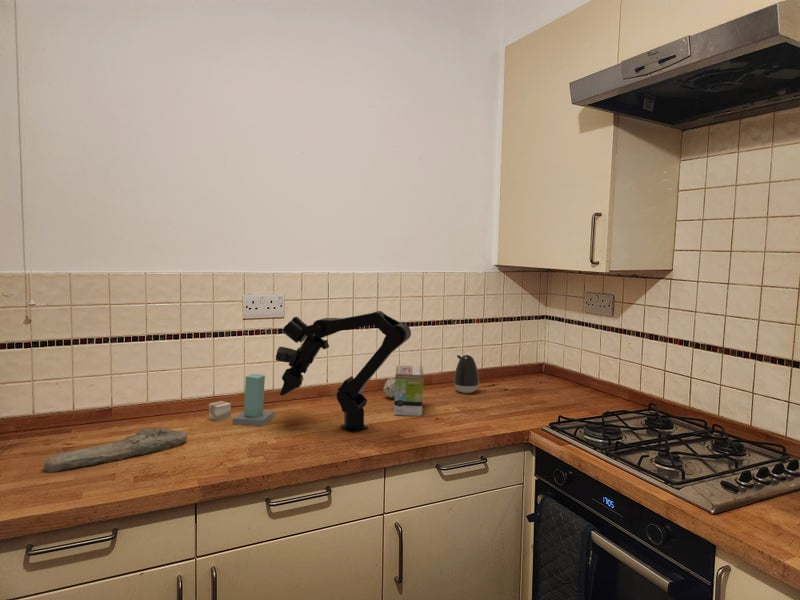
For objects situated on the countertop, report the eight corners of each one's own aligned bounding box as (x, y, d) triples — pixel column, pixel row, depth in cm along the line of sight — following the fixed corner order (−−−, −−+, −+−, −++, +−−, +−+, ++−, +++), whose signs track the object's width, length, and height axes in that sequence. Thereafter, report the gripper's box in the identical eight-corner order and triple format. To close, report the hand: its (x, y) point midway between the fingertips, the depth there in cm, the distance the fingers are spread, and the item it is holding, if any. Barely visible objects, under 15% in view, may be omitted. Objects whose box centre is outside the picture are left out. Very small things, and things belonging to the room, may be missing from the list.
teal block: (262, 413, 176) (264, 375, 175) (256, 417, 172) (258, 378, 171) (250, 411, 177) (252, 373, 176) (243, 415, 173) (245, 376, 171)
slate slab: (274, 418, 179) (274, 411, 179) (261, 428, 169) (261, 420, 169) (246, 416, 181) (246, 409, 180) (232, 425, 171) (232, 418, 171)
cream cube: (230, 418, 177) (230, 403, 176) (217, 421, 173) (217, 406, 173) (222, 415, 180) (222, 400, 180) (209, 418, 176) (209, 403, 176)
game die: (397, 408, 204) (405, 392, 198) (376, 400, 203) (384, 383, 198) (402, 392, 211) (410, 375, 205) (382, 384, 211) (389, 367, 205)
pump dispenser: (465, 387, 223) (466, 351, 222) (483, 392, 215) (485, 355, 214) (448, 390, 217) (448, 354, 215) (466, 396, 209) (467, 358, 207)
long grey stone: (42, 470, 137) (48, 485, 130) (39, 451, 136) (45, 465, 129) (180, 434, 160) (192, 445, 152) (179, 417, 159) (191, 428, 151)
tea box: (422, 416, 182) (423, 374, 181) (393, 415, 182) (394, 373, 181) (422, 404, 197) (422, 364, 196) (395, 403, 197) (395, 364, 196)
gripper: (291, 329, 179) (268, 365, 182) (280, 349, 161) (255, 389, 164) (319, 345, 181) (296, 381, 184) (312, 368, 163) (286, 406, 166)
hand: (283, 388), depth 175 cm, fingers open, 9 cm apart
